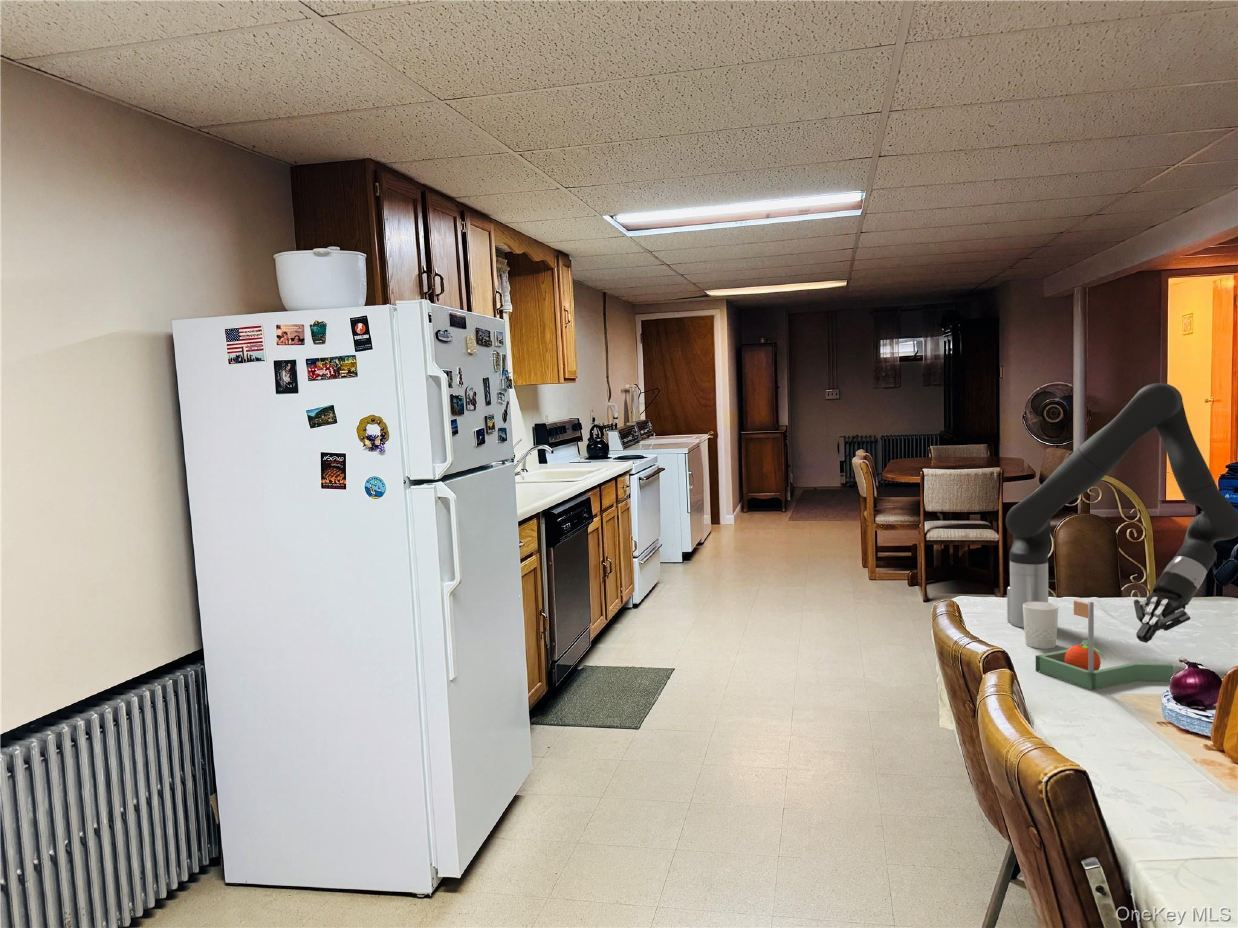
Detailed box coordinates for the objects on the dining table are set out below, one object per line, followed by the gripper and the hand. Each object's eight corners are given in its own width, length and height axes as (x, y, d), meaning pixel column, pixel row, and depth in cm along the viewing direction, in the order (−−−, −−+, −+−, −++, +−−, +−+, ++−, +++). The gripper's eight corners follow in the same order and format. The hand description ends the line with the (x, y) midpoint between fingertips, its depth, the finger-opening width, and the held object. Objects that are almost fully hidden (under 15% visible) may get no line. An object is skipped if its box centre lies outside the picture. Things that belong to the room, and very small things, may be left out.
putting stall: (1022, 665, 193) (1021, 586, 191) (1085, 653, 199) (1085, 576, 198) (1107, 695, 172) (1107, 607, 171) (1175, 681, 179) (1175, 595, 177)
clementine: (1109, 676, 183) (1109, 644, 183) (1101, 684, 178) (1101, 651, 178) (1069, 669, 189) (1069, 638, 188) (1060, 677, 184) (1060, 645, 183)
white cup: (1044, 651, 202) (1044, 611, 201) (1015, 644, 209) (1015, 604, 208) (1065, 646, 206) (1065, 606, 205) (1036, 638, 213) (1036, 600, 212)
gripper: (1145, 565, 198) (1106, 623, 195) (1200, 575, 186) (1160, 637, 183) (1161, 585, 200) (1123, 642, 197) (1217, 596, 188) (1177, 657, 185)
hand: (1141, 639), depth 190 cm, fingers closed
